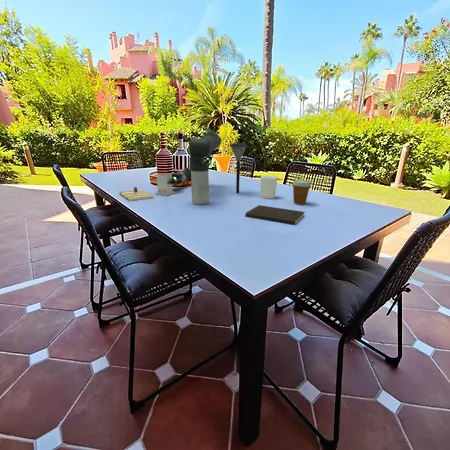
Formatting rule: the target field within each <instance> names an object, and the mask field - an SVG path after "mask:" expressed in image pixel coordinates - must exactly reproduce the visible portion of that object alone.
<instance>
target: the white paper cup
mask: <svg viewBox="0 0 450 450" xmlns="http://www.w3.org/2000/svg"><path fill="white" fill-rule="evenodd" d="M277 185H278V176H276V175H261V176H260V198H262V199H266V200H267V199H268V200H270V199H275V198H276V192H277Z"/></svg>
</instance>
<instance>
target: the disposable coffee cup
mask: <svg viewBox="0 0 450 450" xmlns="http://www.w3.org/2000/svg"><path fill="white" fill-rule="evenodd" d="M311 185H312V184H311V181H310V180H305V179H295V180H294V179H293V181H292V187H293V188H292V190H293V204H295V205H300V206H301V205H306V203H307V198H308V195H309V192H310V187H311Z"/></svg>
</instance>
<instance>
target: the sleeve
mask: <svg viewBox="0 0 450 450" xmlns="http://www.w3.org/2000/svg"><path fill="white" fill-rule="evenodd" d="M172 174H173V173H167V172H165V173H163V172H161V173H158V174H156V185H157V187H156V188H157V192H155V193H154V195H156V196H164V197H169V196H171V195H174V194H175V193H176V191H173V184H171V181H172Z"/></svg>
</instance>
